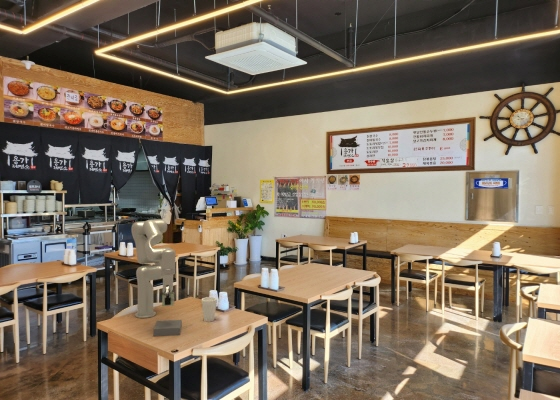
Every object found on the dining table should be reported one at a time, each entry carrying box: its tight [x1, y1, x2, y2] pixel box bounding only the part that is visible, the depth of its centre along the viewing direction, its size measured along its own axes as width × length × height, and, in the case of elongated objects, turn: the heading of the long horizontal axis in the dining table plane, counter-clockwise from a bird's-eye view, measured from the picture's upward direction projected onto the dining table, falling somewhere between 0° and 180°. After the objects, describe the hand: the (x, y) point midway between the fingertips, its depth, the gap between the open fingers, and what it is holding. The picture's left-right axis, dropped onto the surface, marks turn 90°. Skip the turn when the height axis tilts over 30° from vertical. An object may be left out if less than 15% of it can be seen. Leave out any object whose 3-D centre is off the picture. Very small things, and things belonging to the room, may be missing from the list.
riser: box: [153, 319, 182, 337], centre depth 225 cm, size 14×14×4 cm
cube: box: [161, 291, 175, 307], centre depth 225 cm, size 6×6×6 cm
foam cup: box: [201, 296, 218, 323], centre depth 246 cm, size 10×9×13 cm
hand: (168, 302), depth 225 cm, fingers closed on cube, 6 cm apart
